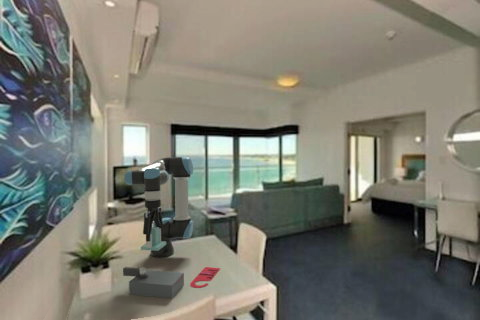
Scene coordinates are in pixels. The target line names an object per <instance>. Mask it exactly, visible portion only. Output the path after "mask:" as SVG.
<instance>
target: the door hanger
mask: <svg viewBox="0 0 480 320" xmlns="http://www.w3.org/2000/svg"><path fill="white" fill-rule="evenodd" d="M220 270H221V268H219V267H212V266H210V267H209V266H205V267H204V268H203V269H202V270H201V271H200V272H199V273H198V274H197V275H196V277H195V278H194V279H193V280H192V281H191V282H190V287H191V288H194V289H199V288H200V289H201V288H205V287H208V286H209V283H204V284H200V285H199V284H198V285H197V284H196V283H197V282H211V281H212V280H213V279H214V278H215V276H216V275H217V274H218V273H219V271H220Z"/></svg>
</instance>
